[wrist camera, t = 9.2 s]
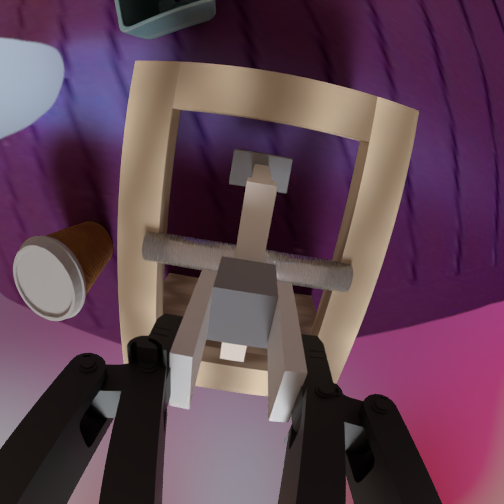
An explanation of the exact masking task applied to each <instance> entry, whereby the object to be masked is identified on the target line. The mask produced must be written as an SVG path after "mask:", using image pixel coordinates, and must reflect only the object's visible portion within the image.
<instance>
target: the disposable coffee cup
mask: <svg viewBox="0 0 504 504" xmlns="http://www.w3.org/2000/svg"><path fill="white" fill-rule="evenodd" d="M112 253H113V244H112V240H111V237H110V235H109V233H108V232H107V231H106V229H105V228H104V227H103V226H101V225H100V224H98V223H96V222H92V221H87V222H83V223H81V224H78V225H75V226H72V227H69V228H65V229H63V230H60V231H58V232H55V233H52V234H49V235H46V236H34V237H31V238H29V239H27V240H26V241H25V242H24V243H23V244H22V246H21V247H20V250H19V252H18V253H17V255H16V257H15V260H14V265H13V273H14V279H15V284H16V286H17V289H18V291H19V293H20V295H21V297H22V298H23V300H24V301H25V302H26V304H27V305H28V306H29V307H30V308H31V309H32V310H33V311H34V312H35V313H36V314H38V315H39V316H41V317H43V318H45V319H48V320H51V321H61V320H64V319H67V318H71V317H73V316H75V315H76V314H77V313H78V312H79V311H80V310H81V308H82V306H83V304H84V301H85V296H86V294H87V293H88V291H89V290H90V288H91V286H92V285H93V283H94V282H95V280H96V279H97V277H98V276H99V274H100V273H101V271H102V270H103V268H104V267H105V266H106V264H107V263H108V261H109V260H110V258H111V256H112Z"/></svg>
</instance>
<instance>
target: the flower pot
mask: <svg viewBox="0 0 504 504" xmlns="http://www.w3.org/2000/svg"><path fill="white" fill-rule="evenodd" d="M115 5H116V11H117V16H118V22H119V27H120V30H121V31H122V32H124V33H127V34H130V35H133V36H136V37H139V38H143V39H154V38H159V37H162V36H164V35H167V34H170V33H173V32H175V31H178V30H181V29H184V28H187V27H190V26H193V25H196V24H200V23H203V22H207V21H209V20H211V19H212V18H214V16H215V14H216V4H215V0H180V1H179V2H176V0H115Z"/></svg>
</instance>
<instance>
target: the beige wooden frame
mask: <svg viewBox="0 0 504 504" xmlns="http://www.w3.org/2000/svg"><path fill="white" fill-rule="evenodd" d="M181 110H185V111H196V112H205V113H214V114H222V115H230V116H237V117H244V118H251V119H257V120H263V121H269V122H275V123H281V124H286V125H291V126H296V127H301V128H306V129H311V130H316V131H320V132H325V133H329V134H333V135H337V136H342V137H346V138H350V139H354V140H357V141H360V143H359V148H358V153H357V158H356V163H355V168H354V172H353V177H352V181H351V186H350V190H349V195H348V199H347V203H346V208H345V212H344V216H343V220H342V224H341V228H340V232H339V236H338V240H337V244H336V248H335V251H334V255H333V259H332V260H327V259H321V258H315V257H309V256H303V255H297V254H291V253H285V252H279V251H273V250H267V249H266V251H265V256H264V261H263V263H268V264H274V265H276V274H277V281H280V282H287V283H292V285H297V286H303V287H310V288H317V289H324V291H323V294H322V298H321V301H320V304H319V308H318V311H317V314H316V310H315V307H314V303H313V299H312V296H310V295H303V294H296V293H294V297H295V303H296V309H297V314H298V320H299V326H300V331H301V334H305V335H314V336H318V337H319V339H320V340H321V341H322V342H323V343H324V347H325V351H326V352H325V353H326V355H327V360H328V363H329V367H330V371H331V375H332V379H333V382H334V383H335V384H336V382H337V380H338V378H339V376H340V374H341V371H342V369H343V367H344V365H345V362H346V360H347V358H348V355H349V353H350V350H351V348H352V346H353V343H354V341H355V338H356V336H357V333H358V331H359V328H360V326H361V323H362V320H363V318H364V315H365V312H366V310H367V307H368V304H369V302H370V299H371V296H372V293H373V290H374V287H375V284H376V282H377V279H378V276H379V273H380V270H381V266H382V263H383V260H384V257H385V254H386V251H387V247H388V244H389V241H390V237H391V234H392V230H393V227H394V223H395V220H396V216H397V212H398V208H399V204H400V201H401V197H402V193H403V188H404V184H405V180H406V176H407V171H408V167H409V162H410V157H411V152H412V147H413V142H414V137H415V131H416V126H417V120H418V114H419V111H418V110H415V109H412V108H410V107H407V106H404V105H401V104H398V103H395V102H392V101H389V100H386V99H383V98H380V97H377V96H374V95H371V94H367V93H364V92H360V91H357V90H353V89H350V88H346V87H342V86H338V85H334V84H330V83H326V82H322V81H318V80H313V79H309V78H304V77H299V76H294V75H289V74H284V73H278V72H272V71H266V70H260V69H253V68H246V67H238V66H229V65H220V64H209V63H196V62H178V61H135V65H134V71H133V76H132V82H131V88H130V94H129V101H128V107H127V115H126V122H125V130H124V139H123V149H122V159H121V172H120V186H119V205H118V295H119V314H120V328H121V341H122V351H123V359H124V360H123V361H124V364H127V363H128V353H127V344H128V343H129V341H130V340H132V339H133V338H135V337H138V336H149V334H150V332H151V330H152V328H153V326H154V324H155V322H156V320H157V319H158V318H159V317H160V316H162V315H163V314H165V313H167V314H172V315H177V316H182V317H184V314H185V312H186V309H187V306H188V304H189V301H190V299H191V296H192V294H193V291H194V289H195V286H196V284H197V282H198V279H199V278H196V277H190V276H185V275H179V274H173V273H169V274H168V276H167V278H166V279H165V281H164V268H165V264H168V265H174V266H180V267H185V268H191V269H197V270H202V269H206V270H212V271H218V268H219V264H220V261H221V258H222V256H224V257H231V258H235V252H236V246H237V245H236V244H230V243H224V242H218V241H211V240H205V239H199V238H193V237H187V236H180V235H174V234H168V233H167V223H168V211H169V200H170V190H171V180H172V171H173V163H174V154H175V147H176V139H177V132H178V125H179V118H180V112H181ZM221 346H222V342H218V341H212V340H207V339H206V343H205V347H204V351H203V355H202V359H201V363H200V367H199V371H198V375H197V380H196V384H195V386H200V387H206V388H212V389H218V390H224V391H231V392H238V393H245V394H253V395H261V396H268V351H267V349H265V348H258V347H251V346H247V348H246V353H245V357H244V362H239V361H232V360H226V359H220V353H221Z"/></svg>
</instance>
